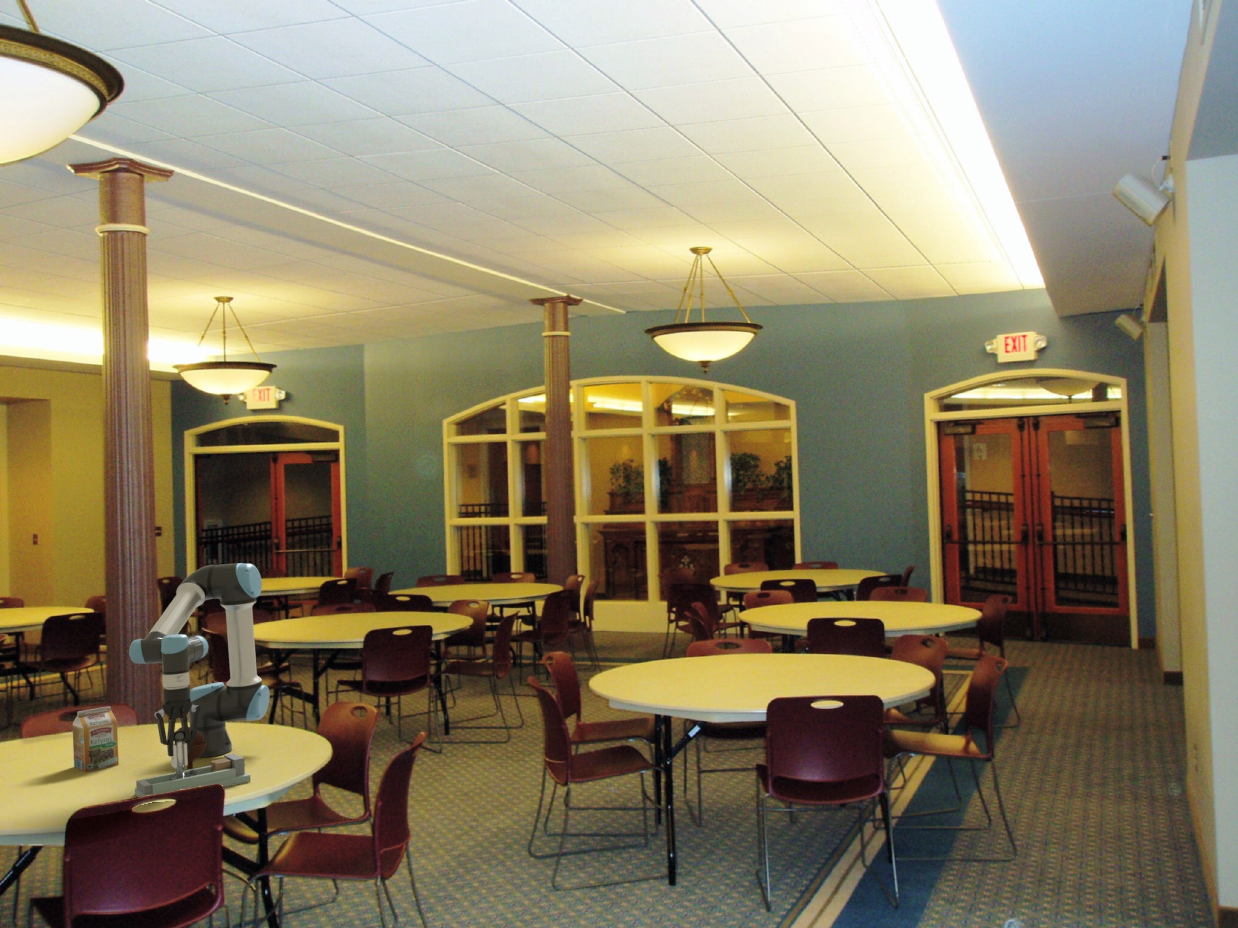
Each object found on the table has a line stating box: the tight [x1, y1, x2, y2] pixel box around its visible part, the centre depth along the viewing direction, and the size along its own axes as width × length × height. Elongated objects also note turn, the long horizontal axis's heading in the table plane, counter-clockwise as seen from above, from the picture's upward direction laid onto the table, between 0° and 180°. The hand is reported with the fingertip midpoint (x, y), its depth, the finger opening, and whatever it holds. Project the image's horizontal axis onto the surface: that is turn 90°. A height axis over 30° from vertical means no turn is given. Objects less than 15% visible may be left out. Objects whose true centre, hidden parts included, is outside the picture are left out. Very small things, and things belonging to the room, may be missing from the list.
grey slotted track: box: [134, 753, 251, 798], centre depth 326 cm, size 13×30×7 cm, turn 129°
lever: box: [170, 729, 201, 781], centre depth 325 cm, size 7×7×16 cm
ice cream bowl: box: [173, 726, 207, 771], centre depth 344 cm, size 11×11×15 cm
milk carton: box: [72, 705, 120, 773], centre depth 361 cm, size 11×11×19 cm
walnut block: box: [210, 758, 231, 772], centre depth 331 cm, size 4×4×4 cm
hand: (179, 765), depth 324 cm, fingers closed on lever, 2 cm apart
